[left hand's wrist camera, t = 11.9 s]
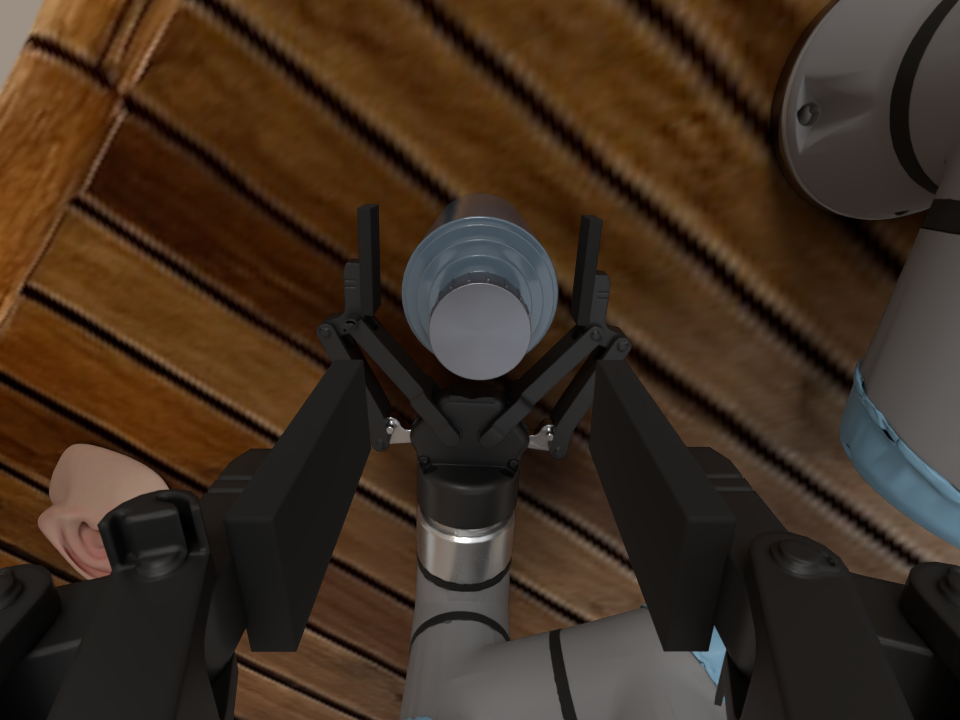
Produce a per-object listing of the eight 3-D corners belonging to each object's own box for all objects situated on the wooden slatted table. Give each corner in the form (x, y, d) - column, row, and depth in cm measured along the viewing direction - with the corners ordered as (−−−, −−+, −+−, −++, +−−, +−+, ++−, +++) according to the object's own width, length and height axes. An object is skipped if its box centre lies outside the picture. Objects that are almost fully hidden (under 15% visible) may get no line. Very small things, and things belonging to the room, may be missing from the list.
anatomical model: (2, 462, 41) (153, 482, 42) (41, 437, 45) (179, 455, 45) (29, 592, 46) (163, 607, 46) (62, 559, 49) (187, 574, 50)
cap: (460, 377, 23) (459, 398, 21) (413, 298, 22) (407, 312, 20) (543, 337, 22) (549, 354, 20) (500, 252, 21) (502, 262, 19)
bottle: (459, 312, 41) (443, 444, 22) (410, 224, 38) (345, 291, 20) (547, 267, 40) (607, 367, 21) (502, 173, 37) (523, 193, 19)
